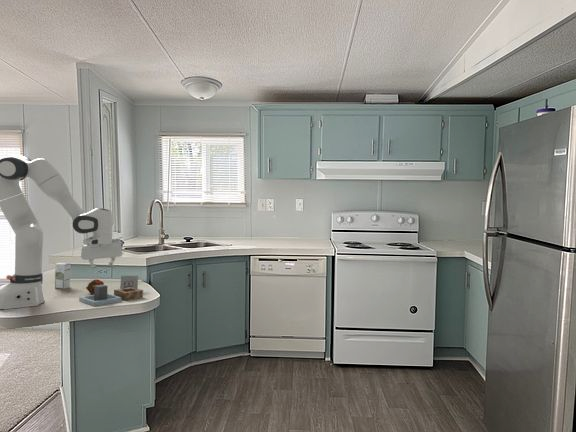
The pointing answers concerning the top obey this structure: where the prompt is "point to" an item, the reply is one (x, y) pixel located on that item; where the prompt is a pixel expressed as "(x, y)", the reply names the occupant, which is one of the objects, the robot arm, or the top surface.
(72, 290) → the top surface
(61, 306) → the top surface
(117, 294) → the holder
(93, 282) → the brown rounded piece
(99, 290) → the plug
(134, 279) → the electrical switch
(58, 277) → the syrup box
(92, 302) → the tray
